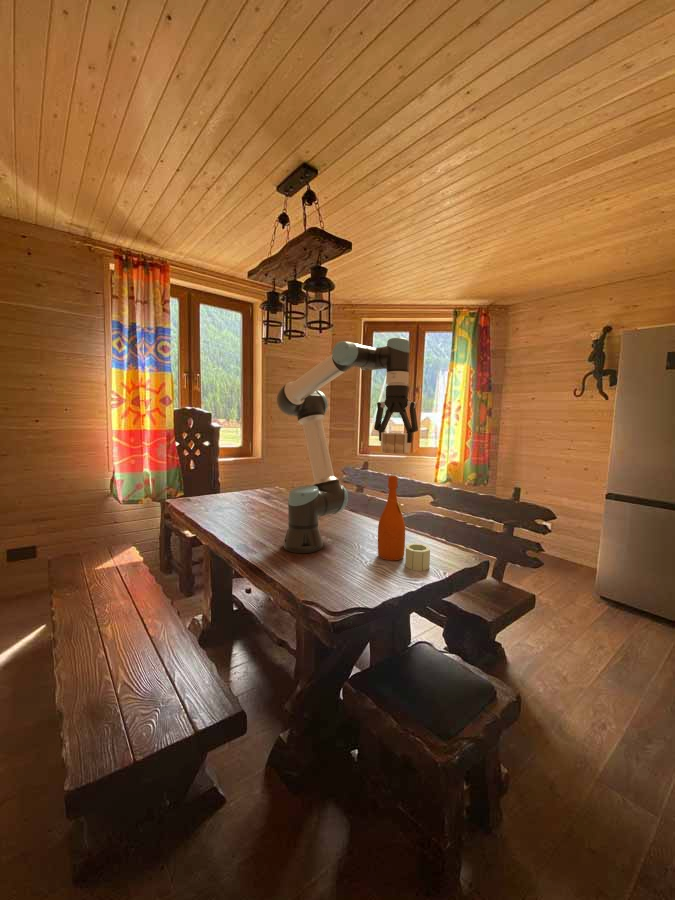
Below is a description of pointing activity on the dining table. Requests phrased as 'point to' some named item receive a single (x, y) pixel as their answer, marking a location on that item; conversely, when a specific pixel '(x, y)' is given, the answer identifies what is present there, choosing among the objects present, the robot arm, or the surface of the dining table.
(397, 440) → the birch ring
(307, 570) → the dining table surface
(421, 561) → the sage ring
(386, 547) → the wine bottle
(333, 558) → the dining table surface
